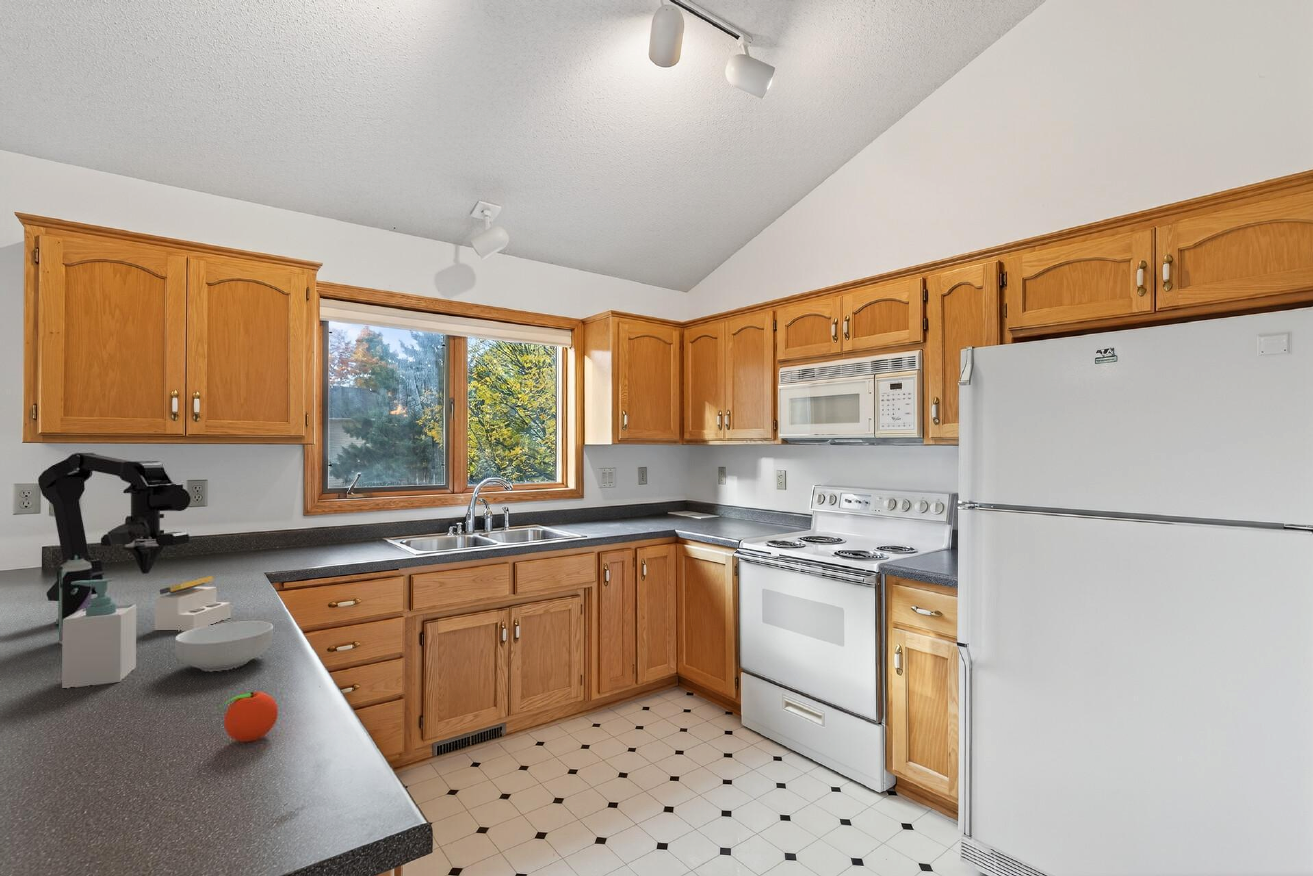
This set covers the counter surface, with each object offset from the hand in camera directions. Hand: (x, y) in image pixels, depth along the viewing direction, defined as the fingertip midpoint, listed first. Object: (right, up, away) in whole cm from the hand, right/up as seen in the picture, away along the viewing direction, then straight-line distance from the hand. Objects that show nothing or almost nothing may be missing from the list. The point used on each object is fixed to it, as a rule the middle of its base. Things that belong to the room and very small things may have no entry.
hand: (145, 573), depth 159 cm
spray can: (-6, -13, -13) cm, 19 cm away
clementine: (+66, -12, -63) cm, 92 cm away
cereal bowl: (+40, -13, -30) cm, 52 cm away
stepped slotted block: (+12, -13, +1) cm, 17 cm away
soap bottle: (+21, -13, -37) cm, 44 cm away
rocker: (+10, -4, +1) cm, 11 cm away
